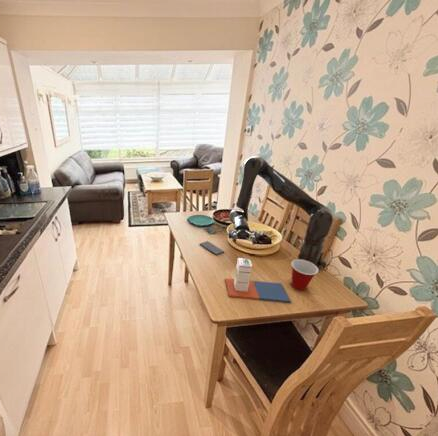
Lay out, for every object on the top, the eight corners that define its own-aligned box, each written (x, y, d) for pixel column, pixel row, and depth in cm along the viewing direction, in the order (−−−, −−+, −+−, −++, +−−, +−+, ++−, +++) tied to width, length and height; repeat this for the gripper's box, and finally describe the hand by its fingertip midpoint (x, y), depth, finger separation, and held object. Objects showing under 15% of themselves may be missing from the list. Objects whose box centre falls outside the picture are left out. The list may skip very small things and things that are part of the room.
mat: (280, 285, 116) (281, 283, 115) (290, 302, 105) (290, 301, 104) (225, 280, 119) (225, 278, 119) (229, 296, 108) (229, 295, 108)
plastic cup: (286, 290, 112) (292, 269, 107) (284, 277, 121) (290, 257, 116) (313, 297, 108) (320, 275, 103) (309, 283, 117) (316, 262, 112)
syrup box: (247, 292, 110) (253, 266, 104) (234, 290, 111) (239, 264, 105) (245, 284, 115) (251, 258, 109) (233, 282, 116) (237, 257, 110)
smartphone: (207, 241, 154) (224, 251, 142) (207, 242, 154) (224, 252, 142) (199, 243, 151) (216, 254, 139) (199, 244, 151) (216, 255, 139)
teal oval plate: (204, 215, 195) (204, 212, 194) (228, 230, 169) (228, 227, 168) (183, 219, 188) (183, 216, 187) (204, 235, 163) (205, 232, 162)
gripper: (228, 220, 129) (230, 233, 115) (256, 222, 126) (261, 236, 112) (226, 232, 132) (228, 247, 118) (254, 235, 129) (259, 250, 115)
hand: (244, 242), depth 115 cm, fingers open, 8 cm apart
